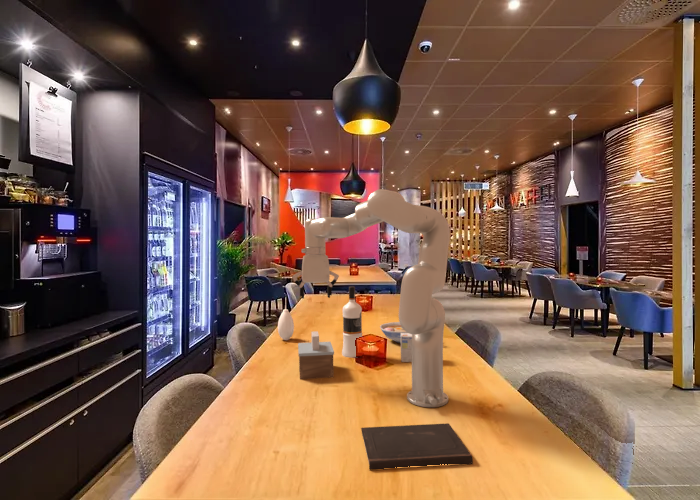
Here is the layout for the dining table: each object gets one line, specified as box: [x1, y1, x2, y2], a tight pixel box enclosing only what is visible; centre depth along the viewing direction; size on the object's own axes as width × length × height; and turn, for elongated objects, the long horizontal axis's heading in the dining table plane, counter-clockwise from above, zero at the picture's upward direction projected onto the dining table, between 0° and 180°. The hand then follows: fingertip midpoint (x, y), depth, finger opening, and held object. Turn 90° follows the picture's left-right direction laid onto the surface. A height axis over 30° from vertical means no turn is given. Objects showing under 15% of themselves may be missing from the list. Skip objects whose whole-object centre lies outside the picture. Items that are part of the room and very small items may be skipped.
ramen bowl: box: [379, 321, 407, 344], centre depth 193 cm, size 25×23×8 cm
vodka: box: [341, 286, 363, 358], centre depth 169 cm, size 9×9×30 cm
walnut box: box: [298, 355, 335, 380], centre depth 147 cm, size 14×12×9 cm
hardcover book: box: [360, 422, 474, 470], centre depth 94 cm, size 16×23×2 cm
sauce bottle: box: [277, 304, 295, 341], centre depth 199 cm, size 8×8×18 cm
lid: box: [297, 330, 335, 357], centre depth 147 cm, size 15×13×7 cm
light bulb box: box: [400, 333, 412, 363], centre depth 163 cm, size 11×7×11 cm, turn 84°
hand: (315, 297), depth 147 cm, fingers open, 9 cm apart
